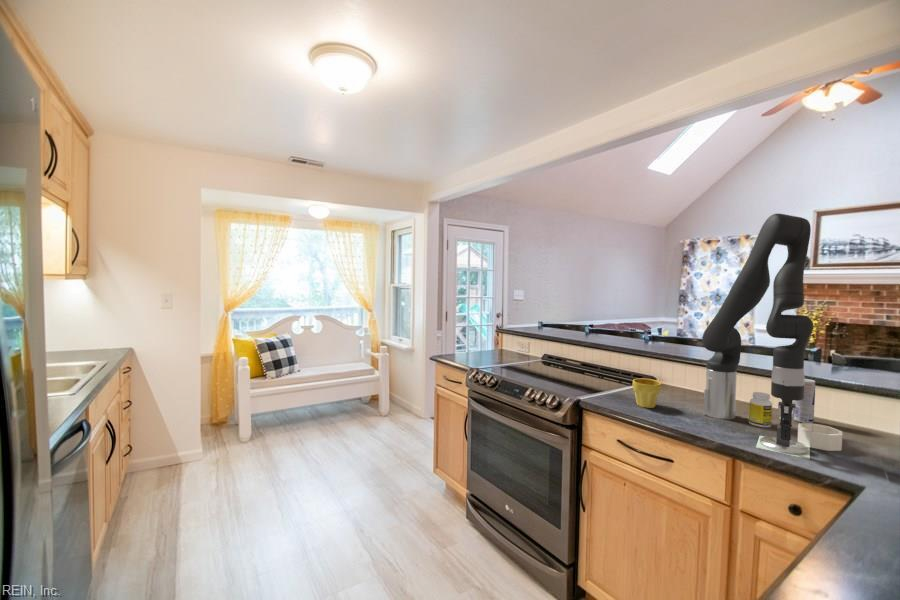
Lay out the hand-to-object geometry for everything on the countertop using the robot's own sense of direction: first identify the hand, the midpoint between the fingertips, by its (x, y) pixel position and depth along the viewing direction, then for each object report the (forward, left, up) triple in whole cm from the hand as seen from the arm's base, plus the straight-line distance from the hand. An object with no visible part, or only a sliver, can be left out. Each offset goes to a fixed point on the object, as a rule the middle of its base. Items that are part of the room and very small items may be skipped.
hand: (786, 435), depth 120 cm
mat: (-1, 0, -4) cm, 4 cm away
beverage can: (+3, +34, -4) cm, 34 cm away
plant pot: (-44, +16, -4) cm, 47 cm away
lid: (-1, 0, -4) cm, 4 cm away
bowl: (+7, +10, -4) cm, 13 cm away
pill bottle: (-8, +19, -4) cm, 21 cm away
